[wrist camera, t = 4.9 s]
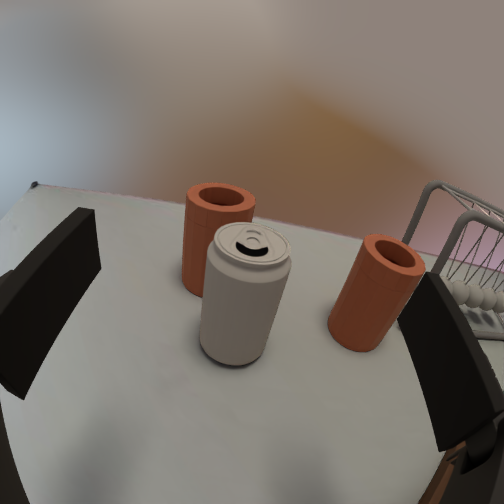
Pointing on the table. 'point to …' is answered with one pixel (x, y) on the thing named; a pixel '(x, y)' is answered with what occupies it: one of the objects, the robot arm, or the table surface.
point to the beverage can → (242, 290)
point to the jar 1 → (209, 225)
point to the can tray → (440, 479)
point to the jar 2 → (374, 292)
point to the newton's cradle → (460, 289)
